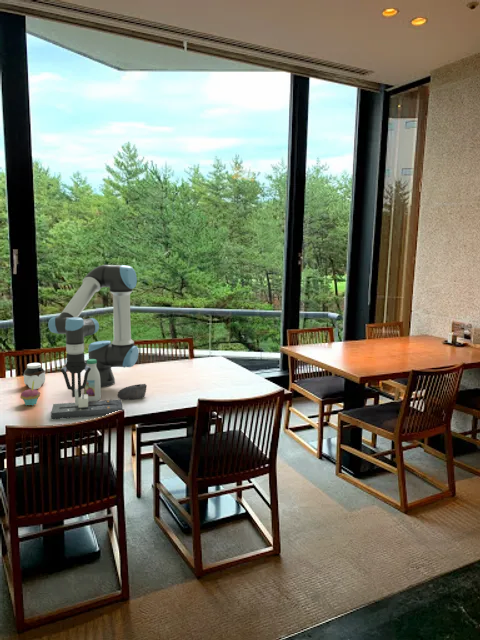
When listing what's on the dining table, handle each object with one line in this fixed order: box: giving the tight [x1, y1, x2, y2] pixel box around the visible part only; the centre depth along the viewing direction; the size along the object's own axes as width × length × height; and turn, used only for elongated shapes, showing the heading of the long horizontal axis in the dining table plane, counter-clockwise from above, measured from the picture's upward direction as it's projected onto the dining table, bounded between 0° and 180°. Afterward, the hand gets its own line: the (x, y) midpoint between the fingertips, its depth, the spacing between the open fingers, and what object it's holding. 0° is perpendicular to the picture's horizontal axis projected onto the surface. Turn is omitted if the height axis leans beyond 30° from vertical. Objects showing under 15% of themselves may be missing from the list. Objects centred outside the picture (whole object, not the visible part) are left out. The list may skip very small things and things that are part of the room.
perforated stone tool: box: [117, 383, 147, 401], centre depth 237 cm, size 15×5×7 cm, turn 116°
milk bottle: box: [83, 358, 102, 402], centre depth 233 cm, size 8×8×20 cm
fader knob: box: [78, 393, 89, 408], centre depth 216 cm, size 6×4×4 cm, turn 17°
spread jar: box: [23, 362, 46, 390], centre depth 252 cm, size 12×11×12 cm
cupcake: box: [20, 381, 41, 406], centre depth 225 cm, size 9×8×12 cm
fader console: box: [50, 398, 123, 420], centre depth 217 cm, size 12×30×3 cm, turn 107°
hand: (76, 403), depth 216 cm, fingers closed
